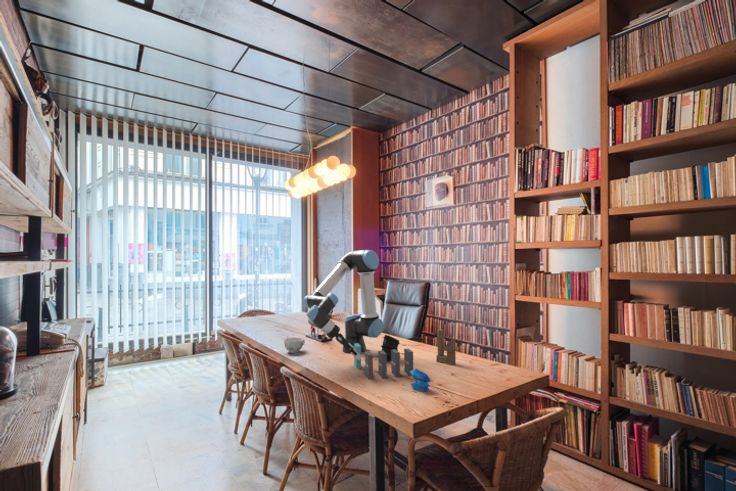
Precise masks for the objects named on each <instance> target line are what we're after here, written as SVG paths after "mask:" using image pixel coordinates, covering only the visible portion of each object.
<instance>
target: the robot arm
mask: <svg viewBox="0 0 736 491" xmlns="http://www.w3.org/2000/svg"><path fill="white" fill-rule="evenodd" d="M379 263H380V258H379V256H378V254H377V253H376V251H374V250H370V249H359V250H358V249H357V250H350V251H349V252H347V253H346V254H345V255H343V256H342V257H341V258H340V259H339V260H338V261H337V263H336V266H335V267H334V268H333V270H331V271H330V273H329V274H328V275H327V276H326V277H325V279H324V280H322V282H321V283H320V284H319V286H317V287H316V289H315V290H314V291H313V292H312V293H311V294H307V295H305V296H304V298H303V301H302V303H303V306H304V307H305V308H306V309H308V310H307V312H306V316H307V318H308V319H309V321H310V322H312V323H313V324H315V325H316V326H317V327H318V329H320V333H321V332H323V333H324V334H325V335H326V336H327V337H328V338H329V339H330V340H331V339H332V340H333V339H334V338H335V341H337V342H338V343H339V344H340V345H342V352H344V353H347V354H351V355H352V356H353V357H354V356H355V357H356V358H357V359H358V360H360V359H361V360H362V358H363V355H362V354H361V355H360V354H359V353H358V352H357V351H356V350H355V349H354V344H356V343H358V344H359V345H360V346H361V353H365V352H366V351H367V346H366V341H365V338H364V337H366V338H367V337H369V338H378V337H379V336H381V335H382V333H383V331H384V326H385V325H384V321H383V320H382V319H381V318H380V315H379V313H378V312H377V304H376V292H375V291H376V290H375V277H374V276H375V275H374V274H375V273H376V269H377V268H378V267H379ZM352 270H356V273H357V274H358V275H359V283H360V285H359V286H360V299H361V309H362V310H361V311H362V312H361V313H356V314H349V315H346V316H345V319H344V320H345V321H344V329H345V330H344V332H345V335H343V334H342V333H340V331H341V328H340V327H339V325H337V324H336V323H335V322H334V321H333V320H332V319H331V318H330V317H329V315H330V313H331V312H332V311H333V309H334V308H335V307H336V306H337V304H338V303H339V298H338V296H337V295H336V294H335V293H333V292H332V291H333V289H334V288H335V287H336V286H337V285H338V284H339V282H340V281H341V280H342V279H343V278H344V277H345V275H346V274H349V273H350V272H351V271H352ZM344 336H345V337H344Z"/></svg>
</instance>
